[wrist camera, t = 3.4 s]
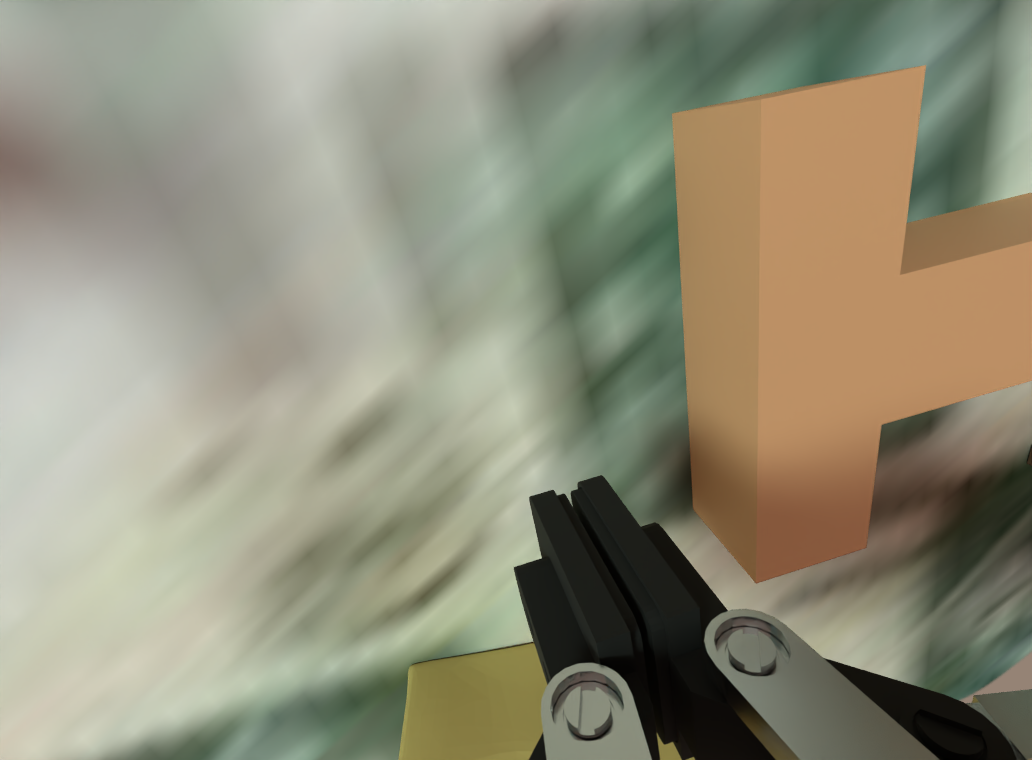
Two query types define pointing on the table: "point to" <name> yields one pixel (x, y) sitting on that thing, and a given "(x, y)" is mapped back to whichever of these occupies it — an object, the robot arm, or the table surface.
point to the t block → (828, 308)
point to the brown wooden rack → (1030, 458)
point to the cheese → (479, 707)
